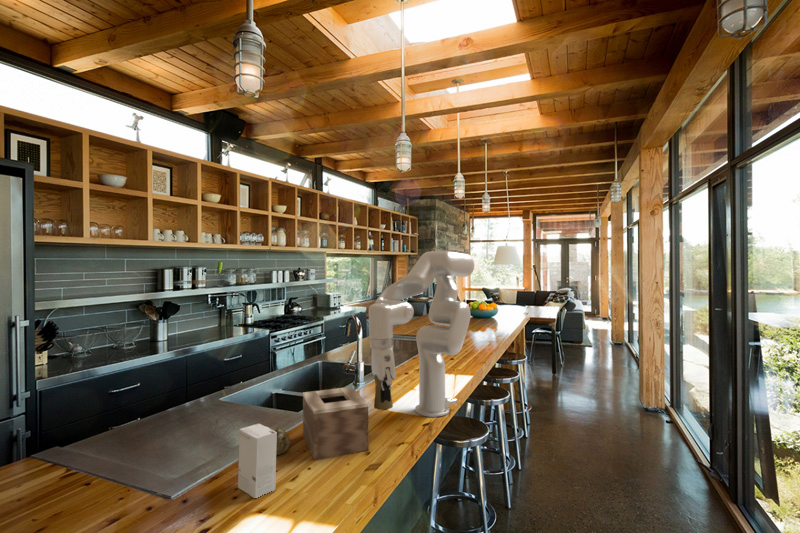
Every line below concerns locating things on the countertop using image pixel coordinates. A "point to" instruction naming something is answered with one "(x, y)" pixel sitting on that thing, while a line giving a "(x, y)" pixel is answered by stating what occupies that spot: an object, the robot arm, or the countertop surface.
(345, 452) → the drop box
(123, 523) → the countertop surface
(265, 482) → the skincare box
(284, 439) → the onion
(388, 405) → the brown rounded upright piece
